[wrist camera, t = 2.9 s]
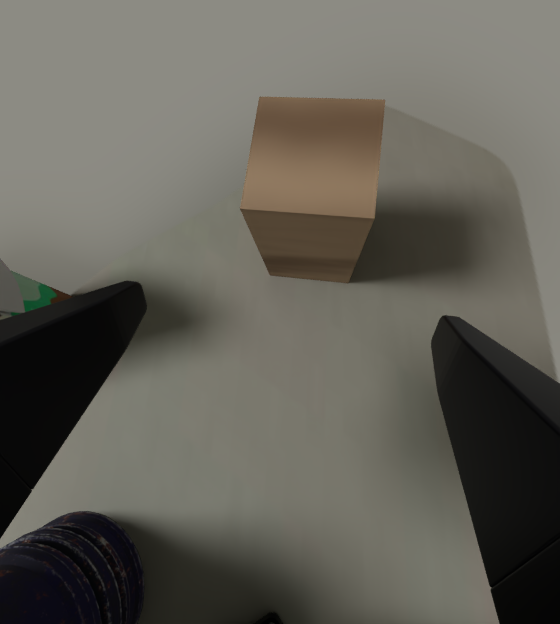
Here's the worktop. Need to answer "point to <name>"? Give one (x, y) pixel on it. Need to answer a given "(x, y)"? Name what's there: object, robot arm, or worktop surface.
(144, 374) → the worktop surface
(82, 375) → the robot arm
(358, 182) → the tan rectangular block
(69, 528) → the storage jar
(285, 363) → the worktop surface
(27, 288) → the food container
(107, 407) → the worktop surface
